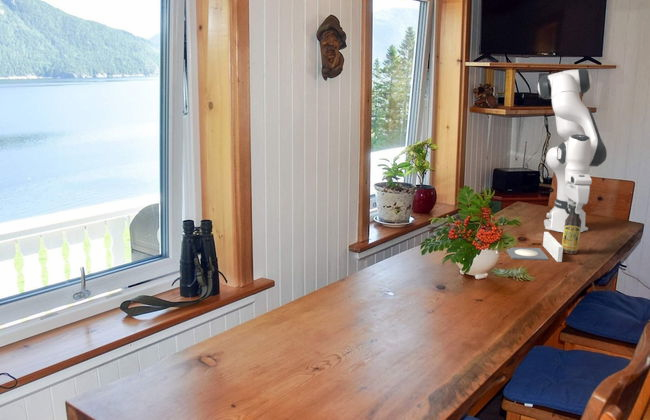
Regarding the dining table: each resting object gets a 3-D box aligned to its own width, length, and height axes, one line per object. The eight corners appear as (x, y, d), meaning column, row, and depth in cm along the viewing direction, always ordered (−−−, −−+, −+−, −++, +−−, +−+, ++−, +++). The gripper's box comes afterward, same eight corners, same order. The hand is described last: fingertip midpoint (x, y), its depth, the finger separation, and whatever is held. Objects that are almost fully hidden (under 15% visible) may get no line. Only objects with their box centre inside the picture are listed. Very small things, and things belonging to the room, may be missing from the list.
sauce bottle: (560, 253, 248) (565, 205, 243) (561, 249, 254) (565, 202, 249) (578, 255, 246) (583, 207, 241) (578, 251, 251) (583, 203, 247)
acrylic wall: (542, 245, 259) (544, 231, 258) (546, 245, 259) (548, 231, 258) (557, 262, 238) (558, 247, 236) (561, 262, 238) (563, 247, 236)
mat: (505, 248, 255) (505, 246, 255) (539, 249, 254) (539, 247, 253) (512, 259, 241) (512, 257, 241) (548, 260, 240) (548, 258, 240)
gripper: (561, 172, 253) (558, 205, 256) (576, 180, 233) (573, 216, 236) (576, 172, 252) (574, 205, 255) (593, 180, 232) (590, 216, 235)
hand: (573, 210), depth 245 cm, fingers open, 8 cm apart
